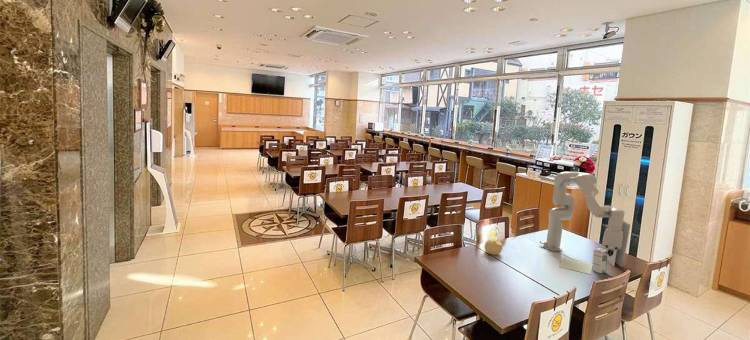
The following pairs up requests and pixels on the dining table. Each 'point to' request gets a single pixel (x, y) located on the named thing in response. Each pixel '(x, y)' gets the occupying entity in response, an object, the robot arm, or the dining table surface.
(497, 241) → the sculpture
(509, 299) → the dining table surface
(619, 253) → the upright grey panel
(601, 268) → the syrup box
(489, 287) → the dining table surface
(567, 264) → the mat
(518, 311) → the dining table surface
